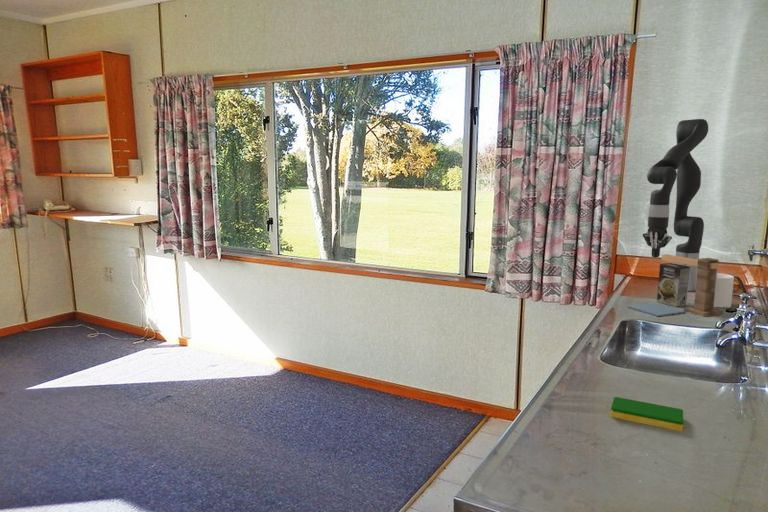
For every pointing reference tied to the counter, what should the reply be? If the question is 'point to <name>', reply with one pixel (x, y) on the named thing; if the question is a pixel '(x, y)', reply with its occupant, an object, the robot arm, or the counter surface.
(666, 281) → the coffee box
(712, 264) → the bar
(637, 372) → the counter surface
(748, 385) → the counter surface
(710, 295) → the guide stand
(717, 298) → the cup
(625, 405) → the dish sponge
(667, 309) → the rubber mat
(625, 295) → the counter surface
